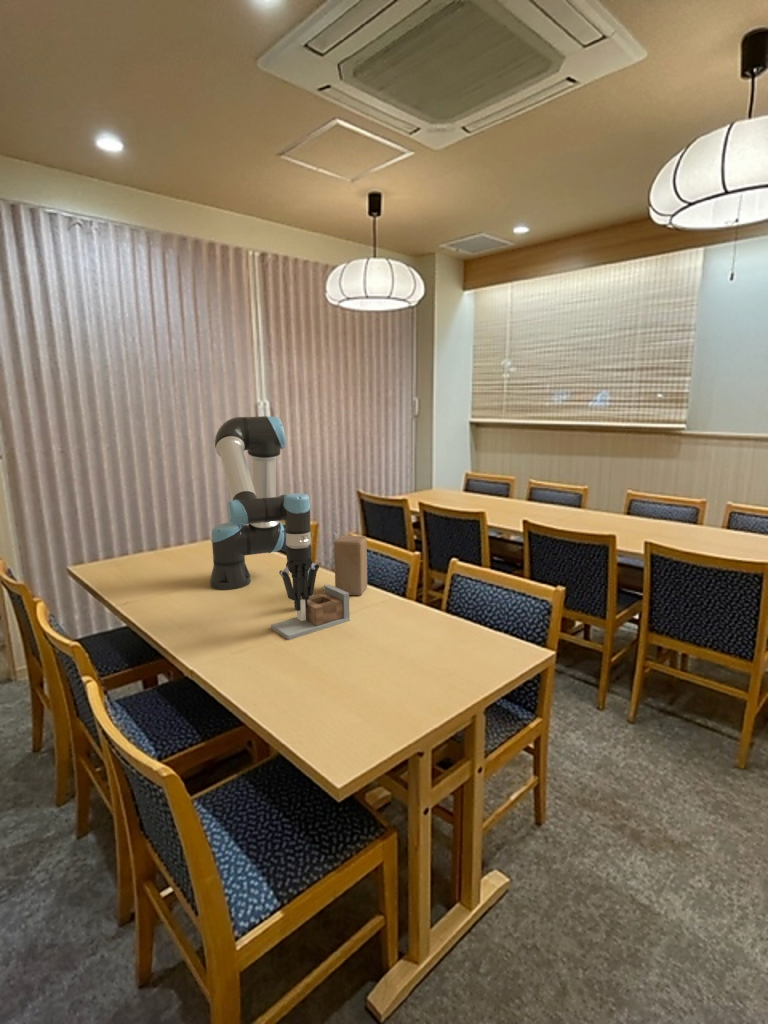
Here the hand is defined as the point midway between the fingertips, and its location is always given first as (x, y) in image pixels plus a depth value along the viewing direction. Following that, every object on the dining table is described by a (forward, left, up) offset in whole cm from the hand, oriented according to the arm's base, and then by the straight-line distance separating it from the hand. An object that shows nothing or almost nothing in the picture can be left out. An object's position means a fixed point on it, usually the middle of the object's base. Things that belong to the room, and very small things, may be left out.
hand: (301, 619), depth 169 cm
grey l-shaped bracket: (0, +3, -3) cm, 4 cm away
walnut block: (0, +7, -1) cm, 7 cm away
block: (-16, +31, -3) cm, 35 cm away
